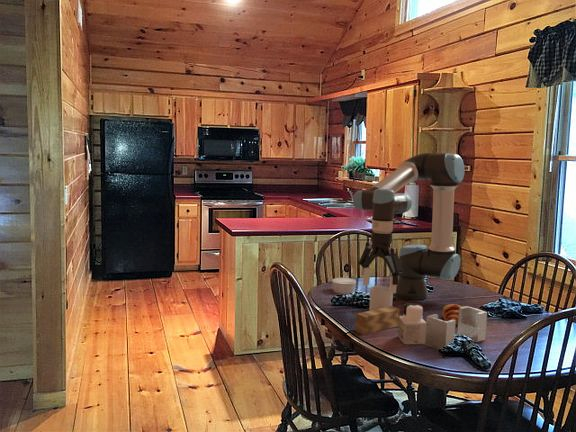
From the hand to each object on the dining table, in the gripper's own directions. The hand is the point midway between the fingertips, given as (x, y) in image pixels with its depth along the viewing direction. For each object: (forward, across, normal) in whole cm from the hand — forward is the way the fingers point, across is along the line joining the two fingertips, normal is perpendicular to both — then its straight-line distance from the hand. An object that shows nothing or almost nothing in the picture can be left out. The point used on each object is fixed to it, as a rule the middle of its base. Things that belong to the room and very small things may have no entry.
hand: (378, 288), depth 198 cm
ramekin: (+15, -45, +23) cm, 53 cm away
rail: (+15, 0, 0) cm, 15 cm away
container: (+15, +15, +2) cm, 22 cm away
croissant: (+15, +9, +34) cm, 39 cm away
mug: (+15, -11, +13) cm, 23 cm away
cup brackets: (+15, +25, +13) cm, 32 cm away
